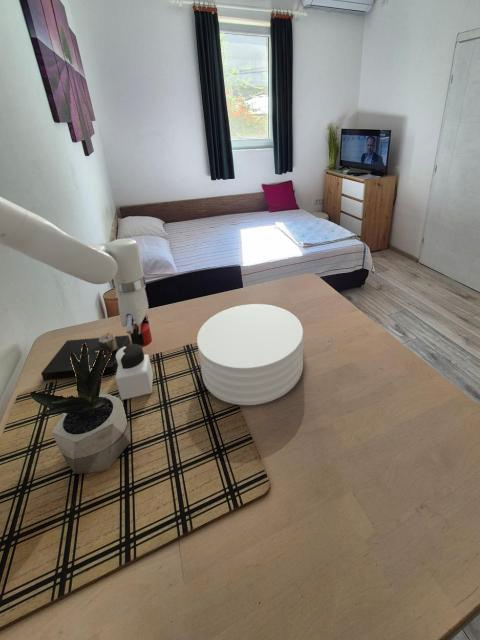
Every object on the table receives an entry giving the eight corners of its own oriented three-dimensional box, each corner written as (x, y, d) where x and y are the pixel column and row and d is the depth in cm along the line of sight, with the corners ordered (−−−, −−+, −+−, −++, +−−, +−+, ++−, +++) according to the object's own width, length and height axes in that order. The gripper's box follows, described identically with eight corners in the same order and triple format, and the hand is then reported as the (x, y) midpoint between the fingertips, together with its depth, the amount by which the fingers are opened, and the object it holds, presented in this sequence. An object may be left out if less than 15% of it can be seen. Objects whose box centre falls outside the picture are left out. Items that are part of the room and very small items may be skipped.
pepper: (130, 348, 94) (126, 329, 91) (136, 337, 98) (132, 318, 96) (149, 346, 94) (145, 327, 92) (153, 336, 99) (150, 317, 97)
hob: (43, 380, 87) (40, 372, 86) (69, 347, 100) (66, 339, 99) (118, 373, 89) (116, 365, 88) (134, 341, 102) (132, 334, 101)
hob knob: (115, 354, 93) (111, 340, 91) (100, 356, 92) (96, 342, 90) (119, 345, 96) (115, 332, 94) (105, 347, 96) (101, 333, 94)
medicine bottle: (153, 374, 89) (145, 338, 84) (151, 393, 82) (143, 355, 78) (124, 380, 87) (114, 344, 82) (121, 401, 80) (110, 362, 76)
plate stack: (214, 421, 74) (209, 383, 70) (194, 349, 98) (189, 317, 94) (321, 383, 85) (322, 347, 80) (279, 326, 108) (278, 296, 104)
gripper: (126, 271, 96) (137, 322, 103) (103, 300, 81) (118, 358, 88) (152, 269, 97) (161, 321, 104) (134, 298, 82) (147, 356, 88)
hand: (141, 337), depth 96 cm, fingers closed on pepper, 5 cm apart
